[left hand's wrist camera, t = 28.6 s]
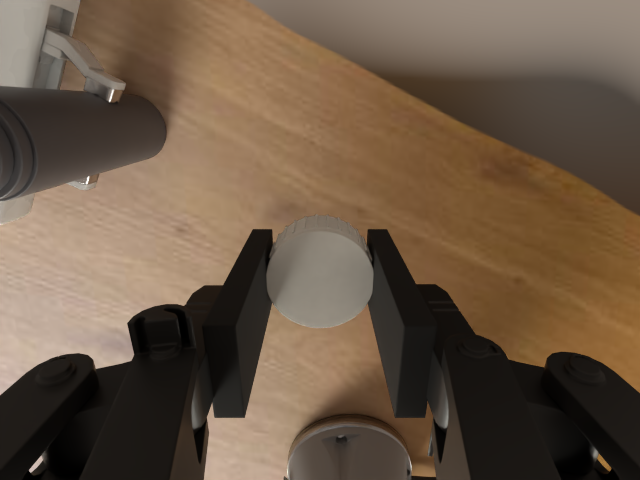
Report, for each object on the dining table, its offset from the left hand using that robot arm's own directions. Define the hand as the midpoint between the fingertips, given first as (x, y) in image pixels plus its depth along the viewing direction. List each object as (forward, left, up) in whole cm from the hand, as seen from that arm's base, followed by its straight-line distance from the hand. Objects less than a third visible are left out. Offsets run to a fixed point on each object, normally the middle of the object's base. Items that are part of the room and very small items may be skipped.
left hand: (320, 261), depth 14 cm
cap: (0, 0, +2) cm, 2 cm away
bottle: (+16, +6, -20) cm, 26 cm away
